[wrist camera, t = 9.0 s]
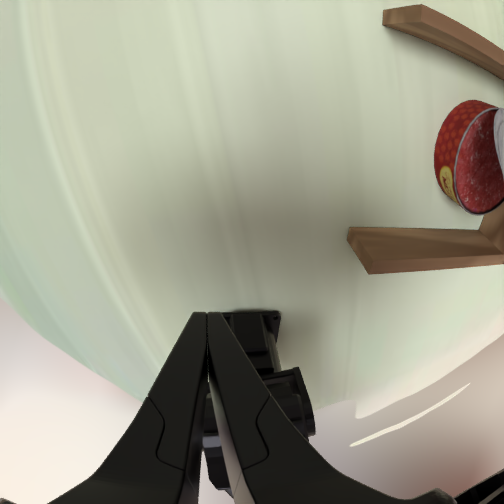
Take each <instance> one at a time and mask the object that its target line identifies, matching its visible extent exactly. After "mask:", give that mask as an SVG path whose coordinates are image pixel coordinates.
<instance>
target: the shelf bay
mask: <svg viewBox="0 0 504 504" xmlns="http://www.w3.org/2000/svg"><path fill="white" fill-rule="evenodd" d="M383 25H385V26H388V27H391V28H394V29H397V30H399V31H402V32H405V33H408V34H410V35H413V36H416V37H418V38H421V39H423V40H426V41H428V42H431V43H433V44H435V45H438V46H440V47H442V48H444V49H446V50H449V51H451V52H453V53H455V54H457V55H459V56H461V57H463V58H465V59H467V60H469V61H471V62H473V63H474V64H476V65H478V66H480V67H482V68H484V69H485V70H487V71H489V72H491V73H492V74H494V75H496V76H497V77H499V78H500V79H502V80H504V51H503V50H502V49H501V48H499V47H498V46H496V45H495V44H493V43H492V42H490V41H489V40H487V39H485V38H484V37H482V36H481V35H479V34H477V33H476V32H474V31H472V30H471V29H469V28H467V27H466V26H464V25H462V24H460V23H459V22H457V21H455V20H453V19H451V18H449V17H447V16H445V15H443V14H441V13H439V12H437V11H435V10H433V9H431V8H429V7H427V6H425V5H422V4H420V5H412V6H405V7H399V8H393V9H387V10H383ZM347 241H348V243H349V244H350V246H351V247H352V249H353V250H354V252H355V253H356V255H357V257H358V258H359V260H360V261H361V263H362V265H363V266H364V268H365V269H366V271H367V273H368V274H384V273H399V272H414V271H428V270H441V269H453V268H465V267H477V266H488V265H498V264H504V202H503V203H502V204H501V205H500V206H499V207H498V208H497V209H495V210H494V211H492V212H491V213H488V214H485V215H484V218H483V221H482V223H481V226H480V228H479V230H459V229H425V228H372V227H350V229H349V233H348V237H347Z"/></svg>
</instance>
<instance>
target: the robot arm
mask: <svg viewBox="0 0 504 504" xmlns="http://www.w3.org/2000/svg"><path fill="white" fill-rule="evenodd" d="M275 316H276V317H275ZM280 320H281V316H280V313H279V312H277V311H273V312H253V313H228V314H221V313H220V312H208V313H206V312H193V313H192V315H191V317H190V318H189V320H188V322H187V324H186V326H185V327H184V329H183V331H182V333H181V335H180V336H179V338H178V340H177V342H176V344H175V345H174V347H173V349H172V351H171V353H170V354H169V356H168V358H167V360H166V362H165V364H164V365H163V367H162V369H161V371H160V373H159V375H158V376H157V378H156V380H155V382H154V384H153V386H152V387H151V389H150V391H149V393H148V397H146V398H145V400H144V402H143V404H142V406H141V408H140V409H139V411H138V413H137V415H136V416H135V418H134V420H133V421H132V423H131V424H130V426H129V427H128V429H127V430H126V432H125V433H124V434H123V436H122V437H121V439H120V440H119V441H118V443H117V444H116V445H115V447H114V448H113V450H112V451H111V452H110V454H109V455H108V456H107V458H106V459H105V460H104V462H103V463H102V465H101V466H100V467H99V468H98V469H97V470H96V472H95V473H94V474H92V475H91V476H90V477H89V478H88V479H87V480H85V481H83V482H82V483H80V484H79V485H77V486H76V487H74V488H72V489H71V490H69V491H68V492H66V493H64V494H63V495H61V496H59V497H58V498H56V499H54V500H53V501H51V502H49V503H48V504H198V496H199V482H200V481H199V480H200V468H201V455H202V451H204V453H205V457H206V462H207V467H208V475H209V480H210V481H211V482H212V484H213V485H214V486H215V488H216V489H218V490H225V491H226V492H227V493H228V494H229V495H230V496H231V497H232V498H233V499H234V502H235V504H504V469H502V470H501V471H499V472H497V473H495V474H494V475H492V476H490V477H488V478H486V479H485V480H483V481H481V482H479V483H477V484H476V485H474V486H472V487H471V488H469V489H467V490H465V491H463V492H462V493H460V494H459V495H457V496H455V497H452V496H450V495H448V494H447V493H446V492H444V491H442V490H441V489H439V488H435V489H432V490H430V491H428V492H426V493H423V494H421V495H419V496H417V497H414V498H412V499H405V500H404V499H397V498H394V497H391V496H389V495H387V494H384V493H382V492H380V491H377V490H375V489H373V488H371V487H369V486H367V485H364V484H362V483H360V482H358V481H356V480H354V479H352V478H350V477H348V476H346V475H344V474H342V473H341V472H339V471H338V470H336V469H335V468H334V467H333V466H331V465H330V464H329V463H328V462H327V461H326V460H325V459H324V458H323V457H322V456H321V455H320V454H319V453H318V452H317V451H316V450H315V448H314V447H313V446H312V445H311V444H310V443H309V439H308V437H309V436H314V435H315V421H314V415H313V410H312V406H311V402H310V399H309V395H308V392H307V389H306V386H305V384H304V381H303V378H302V375H301V372H300V369H299V367H294V368H293V369H289V370H284V371H281V366H280V361H279V357H278V352H277V347H276V342H277V336H278V331H279V325H280ZM207 344H208V352H207ZM208 375H209V382H208ZM0 504H16V503H13V502H11V501H9V500H6V499H4V498H1V499H0Z"/></svg>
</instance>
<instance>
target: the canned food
mask: <svg viewBox="0 0 504 504" xmlns="http://www.w3.org/2000/svg"><path fill="white" fill-rule="evenodd" d="M434 168H435V175H436V178H437V181H438V184H439V186H440V187H441V189H442V191H443V192H444V193H445V194H446V195H447V196H449V197H450V198H451V199H452V200H454V201H455V202H456V203H457V204H459V205H460V206H461V207H462V208H463V209H464V210H465V211H467V212H468V213H470V214H473V215H485V214H488V213H491V212H492V211H494V210H495V209H497V208H498V207H499V206H500V205H501V204H502V203H503V202H504V109H503V108H498V107H495V106H493V105H490V104H487V103H484V102H482V101H478V100H468V101H465V102H463V103H461V104H459V105H458V106H456V107H455V108H454V109H453V110H452V111H451V112H450V113H449V114H448V116H447V117H446V119H445V121H444V122H443V124H442V126H441V129H440V131H439V133H438V137H437V141H436V144H435V152H434Z"/></svg>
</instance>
